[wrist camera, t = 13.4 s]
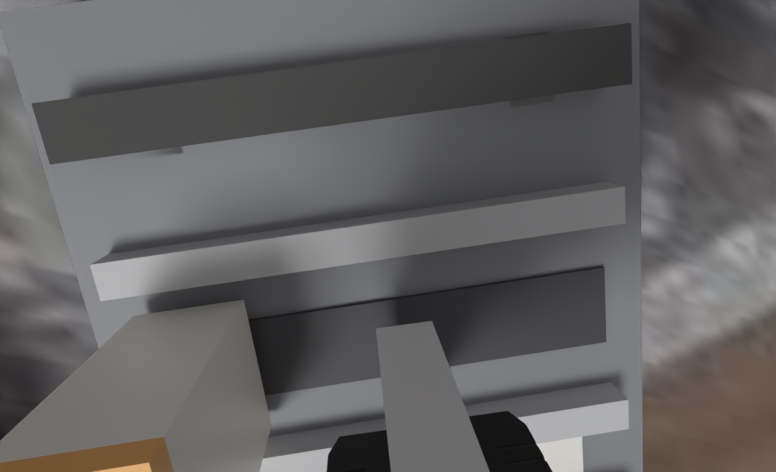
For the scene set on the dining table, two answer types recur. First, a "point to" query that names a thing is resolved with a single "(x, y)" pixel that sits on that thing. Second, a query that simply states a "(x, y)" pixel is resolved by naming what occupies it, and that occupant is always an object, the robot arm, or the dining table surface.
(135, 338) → the orange-topped grey block
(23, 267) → the dining table surface
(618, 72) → the dark grey bar
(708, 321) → the dining table surface
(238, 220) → the panel
